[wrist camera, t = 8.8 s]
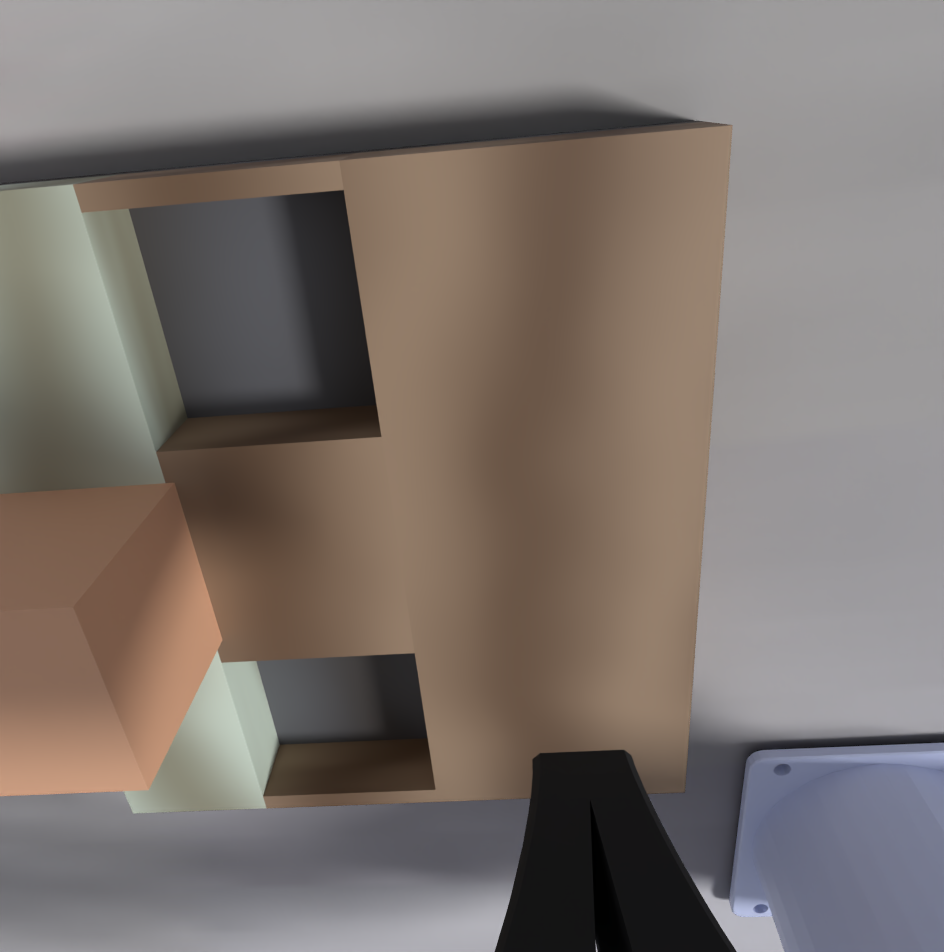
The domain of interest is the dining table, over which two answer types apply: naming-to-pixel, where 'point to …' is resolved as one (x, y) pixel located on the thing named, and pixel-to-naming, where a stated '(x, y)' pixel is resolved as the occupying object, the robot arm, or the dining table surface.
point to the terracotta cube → (97, 636)
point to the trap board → (395, 444)
